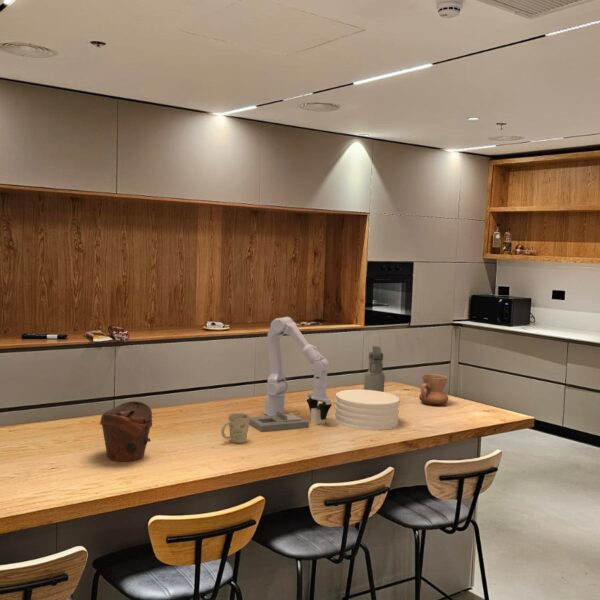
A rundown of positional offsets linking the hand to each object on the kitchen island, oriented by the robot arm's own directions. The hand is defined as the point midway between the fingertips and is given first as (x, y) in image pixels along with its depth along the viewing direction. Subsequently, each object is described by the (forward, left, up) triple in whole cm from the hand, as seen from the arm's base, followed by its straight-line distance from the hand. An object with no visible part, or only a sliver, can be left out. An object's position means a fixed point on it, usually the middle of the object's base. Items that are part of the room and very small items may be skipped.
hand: (318, 417), depth 306 cm
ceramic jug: (-14, +75, -3) cm, 76 cm away
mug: (+15, -46, -3) cm, 48 cm away
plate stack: (+5, +22, -3) cm, 23 cm away
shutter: (-1, -14, 0) cm, 14 cm away
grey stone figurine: (-23, +45, -3) cm, 51 cm away
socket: (-1, -19, -2) cm, 19 cm away
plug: (0, 0, -2) cm, 2 cm away
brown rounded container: (+19, -89, -3) cm, 91 cm away
